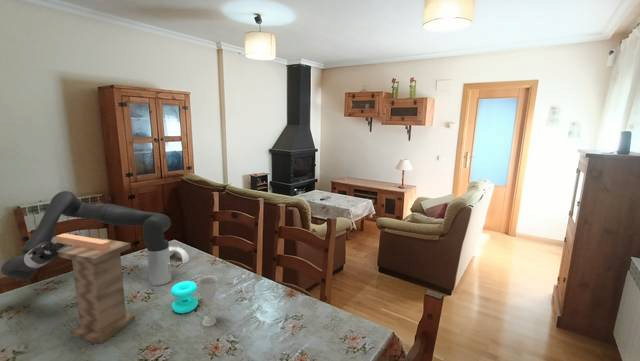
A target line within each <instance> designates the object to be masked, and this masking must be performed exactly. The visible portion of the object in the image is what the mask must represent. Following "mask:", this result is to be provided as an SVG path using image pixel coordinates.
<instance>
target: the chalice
mask: <svg viewBox="0 0 640 361" xmlns="http://www.w3.org/2000/svg"><path fill="white" fill-rule="evenodd" d="M217 281H218V277H217V276H215V275H210V274H209V275H203V276H201V277H199V278H198V279H197V283H198V285H199V286H198V289H199V294H200V296H201V298H202V301H203V302H204V303H205V304H206V308H207V310H206V313H207V315H205V316H204V318H203V320H202V325H203V326H205V327H211V326H214V325H215V324H216V323H217V320H216V317H215V316H214V315H213V314H211V312H212V310H211V306H212V305H211V303H212V302H213V300H214V298H215V296H216V294H217Z"/></svg>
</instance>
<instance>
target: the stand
mask: <svg viewBox="0 0 640 361" xmlns="http://www.w3.org/2000/svg"><path fill="white" fill-rule="evenodd" d="M95 239H101V240H107V241H110V248H108V249H106V250H103V251H101V250H95V249H90V248H84V247H79V246H73V245H72V246H69V247H66V248H64V249H62V250H61V251H59V252H58V258H61V259H67V260H71V262H72V264H71V265H72V272H73V278H74V279H73V280H74V285H75V286H74V287H75V296H76V303H77V309H78V310H77V312H78V319H79V320H78V321H79V325H77V326H76V327H74V328H72V329H71V330H70V335H71V336H72V337H76V338H79V339H83V340H86V341H90V342H93V343H97V344H100V345H101V344H103V343H105V342H106V341H107V340H108V339H111V338H112V337H113V336H115V335H116V334H117V333H119V332H120V331H121V330H123V329H125V328H126V327H127V326H129V325H131V324H132V323H133V322H135V321H136V316H135V315H134V314H131V313H127V312H126V303H125V300H126V299H125V290H124V280H123V270H122V269H123V268H122V259H121V253H124V252H126V251H128V250H131V248H132V247H131V242H127V241H126V242H124V241H119V240H114V239H107V238H102V237H96V238H95Z"/></svg>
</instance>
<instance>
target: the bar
mask: <svg viewBox="0 0 640 361" xmlns="http://www.w3.org/2000/svg"><path fill="white" fill-rule="evenodd" d="M56 241H57V243H62V244H68V245H71V246H72V247H73V246H79V247H84V248H90V249H95V250H101V251H103V250H106V249H108V248H110V241H107V240H101V239H95V238H94V237H88V236H83V235H79V236H77V235H74V234H72V233H65V232H64V233H61V234H58V235H55V242H56Z"/></svg>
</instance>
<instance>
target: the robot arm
mask: <svg viewBox="0 0 640 361" xmlns="http://www.w3.org/2000/svg"><path fill="white" fill-rule="evenodd" d="M61 216H65V217H69V218H80V219H87V220H91V221H95V222H99V223H103V224H106V225H112V226H119V227H122V226H124V227H126V226H142V232H143V234H142V235H143V240H144V241H143V242H144V245H145V246H146V252H147V264H148V280H149V284H150V286H154V287H156V286H164V285H165V284H168V283H169V282H172V281H173V280H172V265H171V264H172V263H171V261H170V260H171V259H170V257H171V256H170V257H169V247H170V244H169V240H168V239H165V233H164V232H166V231H168V230H169V228H170V227H171V226H172V222H171V219H170V217H169V216H168V215H166V214H164V213H159V212H151V211H144V210H139V209H135V208H131V207H126V206H123V205H117V204H114V203H102V204H101V203H100V204H91V203H86V202H84V201H81V199H79V198H78V196H76V195H75V194H74V193H73V192H71V191H68V190H67V191H66V190H63V191H59V192H58V193H57V194H55V195H54V196H53V197H52V198H51V200H50V201H49V204H48V206H47V208H46V210H45V212H44V214H43V215H42V218H41V220H40V222H39V223H38V225H37V227H36V228H35V230H34V231H33V233H32V234H31V235H30V236H29V239H28V240H27V241H26V243H25V244H24V245H23V246H22V248H21V250H20V251H21V253H22V254H21V255H16V256H13V257H10V258H9V259H7V260H6V261H5V262H4V263H3V264H2V265H1V267H0V273H1V274H2V275H3V276H6V277H9V278H14V279H16V280H20V281H23V282H24V281H28V280H30V279H32V278H33V277H34V275H36V272H37V269H39V268H41V267H43V266H45V265H47V264H48V263H51V262H52V261H53V260H55V259H56V258H58V257H59V254H58V252H59V251H61V250H64V249H67V248H69V247H72V245H68V244H62V243H57V241H56V240H55V241H52V240H53V238H54V236H55V231H56V228H57V223H58V222H59V219H60V217H61ZM73 235H77V236H80V235H79V234H78V233H77V232H76V233H74V234H73Z"/></svg>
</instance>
